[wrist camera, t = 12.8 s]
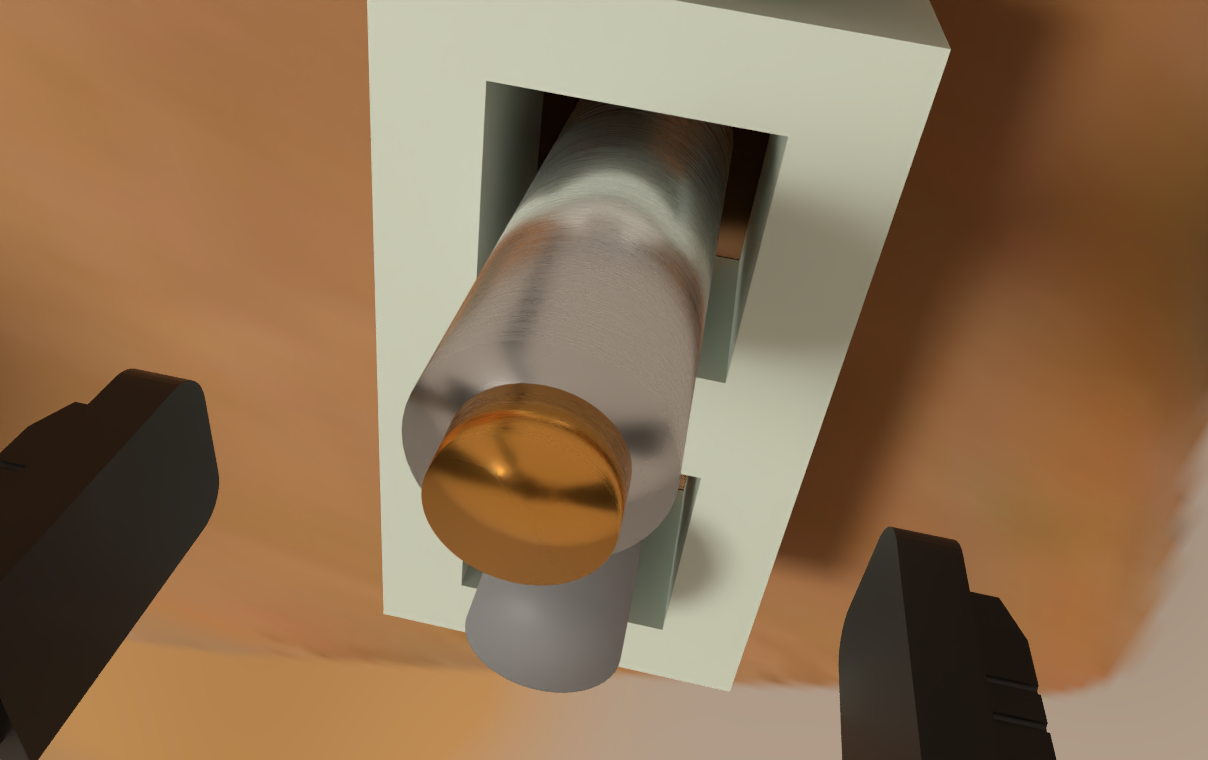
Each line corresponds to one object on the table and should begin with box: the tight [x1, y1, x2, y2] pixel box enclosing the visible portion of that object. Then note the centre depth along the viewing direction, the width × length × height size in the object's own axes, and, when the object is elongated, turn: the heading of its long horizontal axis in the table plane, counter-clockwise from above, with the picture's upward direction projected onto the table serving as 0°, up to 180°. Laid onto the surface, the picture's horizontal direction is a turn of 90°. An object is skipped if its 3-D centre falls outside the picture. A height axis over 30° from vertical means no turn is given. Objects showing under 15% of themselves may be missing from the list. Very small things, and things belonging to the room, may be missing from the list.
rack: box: [367, 0, 951, 693], centre depth 20 cm, size 16×9×8 cm, turn 173°
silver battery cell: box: [402, 98, 733, 586], centre depth 16 cm, size 4×4×12 cm
